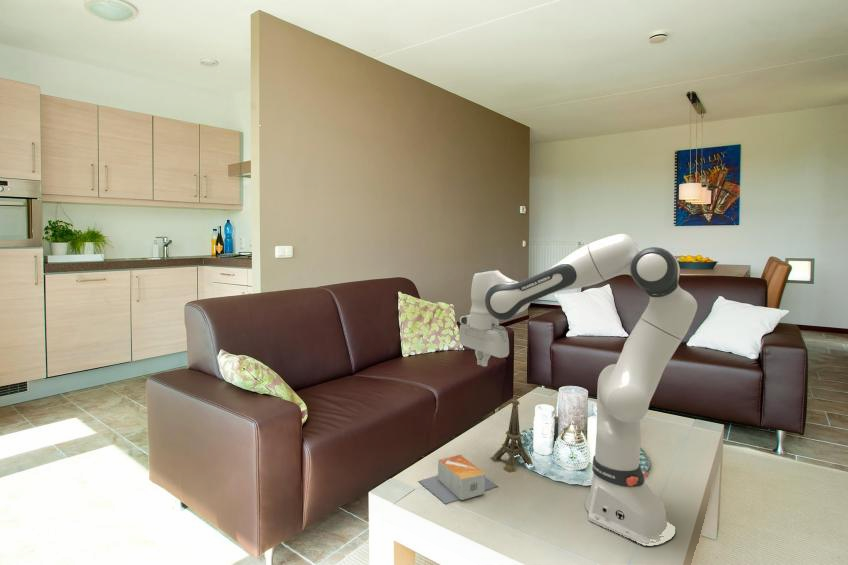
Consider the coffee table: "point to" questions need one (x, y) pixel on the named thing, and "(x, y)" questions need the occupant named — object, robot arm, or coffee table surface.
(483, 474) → the small box
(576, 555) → the coffee table surface
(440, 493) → the slate mat
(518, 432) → the eiffel tower
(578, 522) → the coffee table surface
